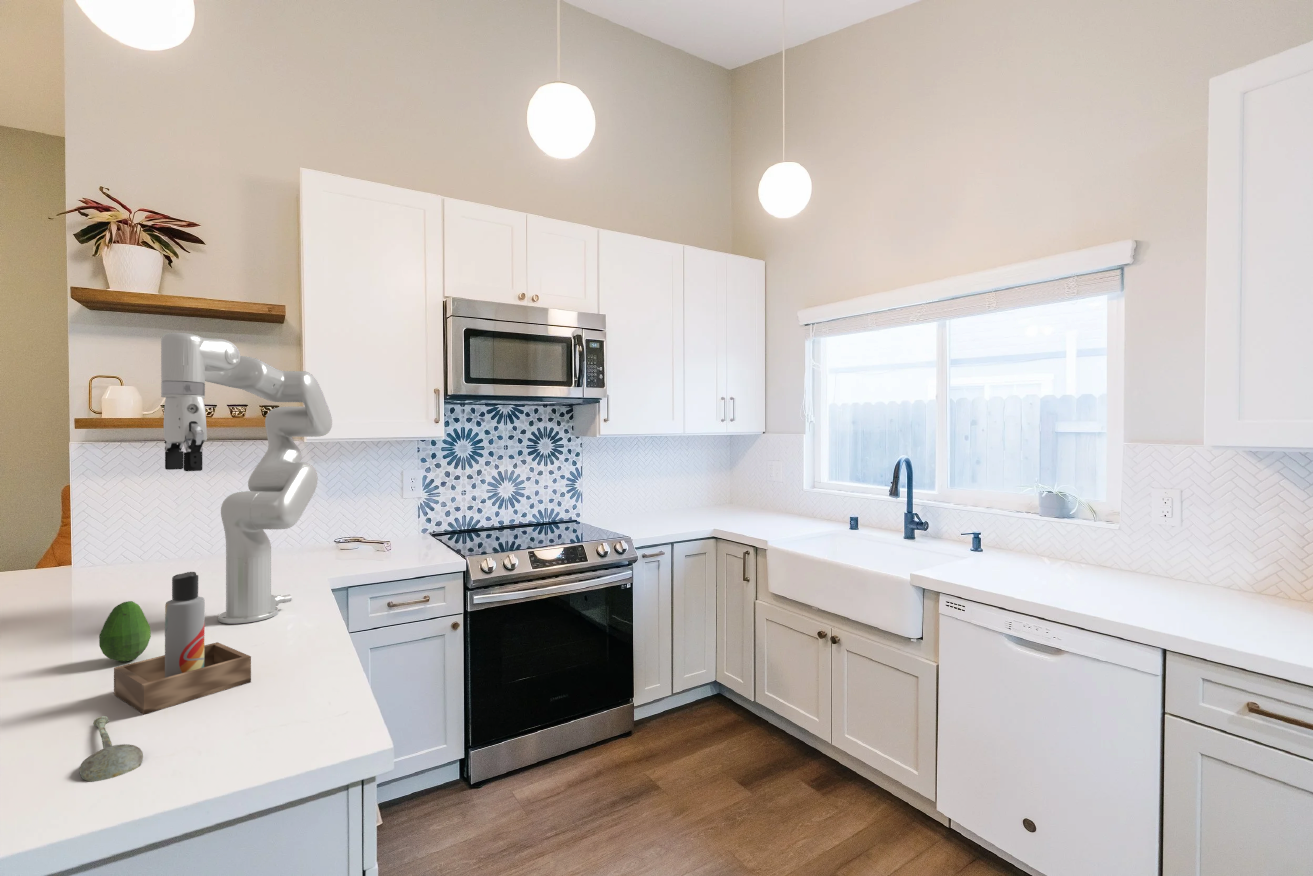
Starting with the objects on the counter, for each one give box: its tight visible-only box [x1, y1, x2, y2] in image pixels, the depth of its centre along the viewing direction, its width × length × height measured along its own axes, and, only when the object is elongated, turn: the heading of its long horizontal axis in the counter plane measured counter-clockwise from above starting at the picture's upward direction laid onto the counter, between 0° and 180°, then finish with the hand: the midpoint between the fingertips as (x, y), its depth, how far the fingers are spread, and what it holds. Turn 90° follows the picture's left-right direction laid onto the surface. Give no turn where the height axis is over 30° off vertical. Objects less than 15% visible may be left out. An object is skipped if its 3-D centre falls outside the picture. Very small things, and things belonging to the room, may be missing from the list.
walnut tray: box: [113, 641, 252, 715], centre depth 112 cm, size 16×14×5 cm
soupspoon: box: [79, 715, 144, 783], centre depth 90 cm, size 22×3×7 cm
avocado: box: [98, 600, 152, 662], centre depth 125 cm, size 8×8×12 cm
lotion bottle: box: [164, 571, 206, 678], centre depth 112 cm, size 6×6×20 cm
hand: (183, 470), depth 133 cm, fingers open, 9 cm apart
